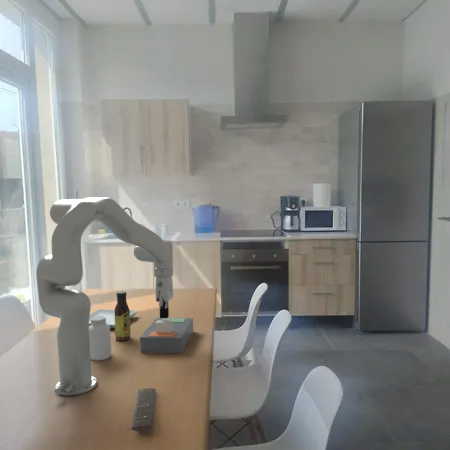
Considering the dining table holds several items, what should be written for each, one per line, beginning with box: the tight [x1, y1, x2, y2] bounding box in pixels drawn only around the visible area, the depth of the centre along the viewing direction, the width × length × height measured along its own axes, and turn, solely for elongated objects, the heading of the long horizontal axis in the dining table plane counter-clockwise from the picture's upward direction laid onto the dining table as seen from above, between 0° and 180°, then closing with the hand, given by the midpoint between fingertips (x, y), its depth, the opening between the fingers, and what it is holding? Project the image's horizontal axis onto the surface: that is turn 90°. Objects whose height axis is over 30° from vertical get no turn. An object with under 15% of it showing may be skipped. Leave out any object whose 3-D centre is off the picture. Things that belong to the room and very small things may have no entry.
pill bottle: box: [89, 316, 112, 361], centre depth 161 cm, size 8×8×15 cm
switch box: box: [139, 317, 194, 354], centre depth 176 cm, size 24×16×6 cm, turn 173°
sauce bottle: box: [114, 290, 131, 342], centre depth 179 cm, size 7×6×20 cm
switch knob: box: [156, 320, 173, 333], centre depth 169 cm, size 3×6×4 cm, turn 83°
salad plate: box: [89, 309, 138, 329], centre depth 203 cm, size 21×21×3 cm
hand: (164, 317), depth 171 cm, fingers closed
